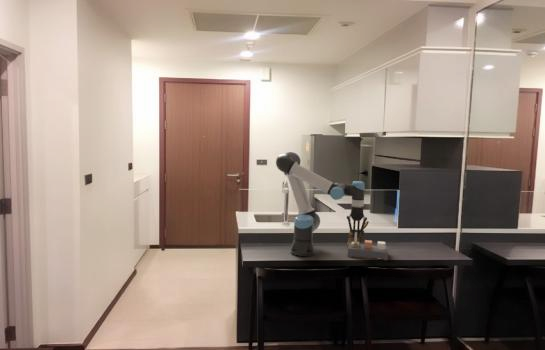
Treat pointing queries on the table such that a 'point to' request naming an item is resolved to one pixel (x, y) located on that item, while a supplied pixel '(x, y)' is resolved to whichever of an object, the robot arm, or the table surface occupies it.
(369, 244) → the terracotta key
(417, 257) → the table surface
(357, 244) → the birch key
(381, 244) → the white key
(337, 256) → the table surface
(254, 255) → the table surface
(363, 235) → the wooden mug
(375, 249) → the key console
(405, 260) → the table surface
